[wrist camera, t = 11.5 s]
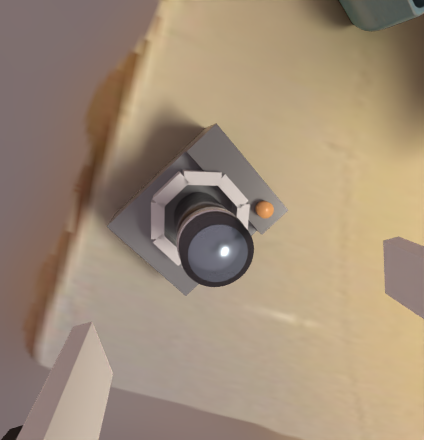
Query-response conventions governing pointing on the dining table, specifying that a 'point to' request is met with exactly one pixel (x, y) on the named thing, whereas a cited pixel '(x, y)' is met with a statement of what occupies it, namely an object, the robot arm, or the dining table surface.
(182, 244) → the lens
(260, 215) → the camera body
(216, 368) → the dining table surface
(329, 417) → the dining table surface
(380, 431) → the dining table surface
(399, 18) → the flower pot
